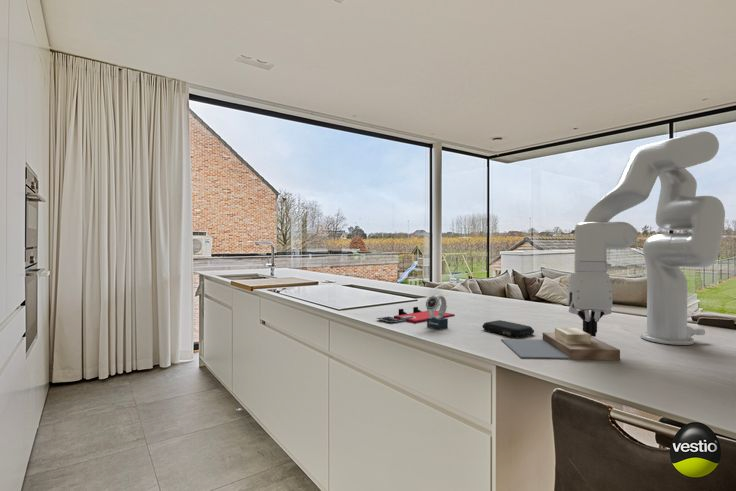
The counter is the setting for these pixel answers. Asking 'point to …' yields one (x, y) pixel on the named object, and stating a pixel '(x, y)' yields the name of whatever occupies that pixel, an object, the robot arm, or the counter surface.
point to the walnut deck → (584, 349)
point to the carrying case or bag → (508, 328)
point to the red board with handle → (413, 316)
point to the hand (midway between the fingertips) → (589, 335)
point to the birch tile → (572, 336)
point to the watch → (434, 320)
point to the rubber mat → (534, 349)
